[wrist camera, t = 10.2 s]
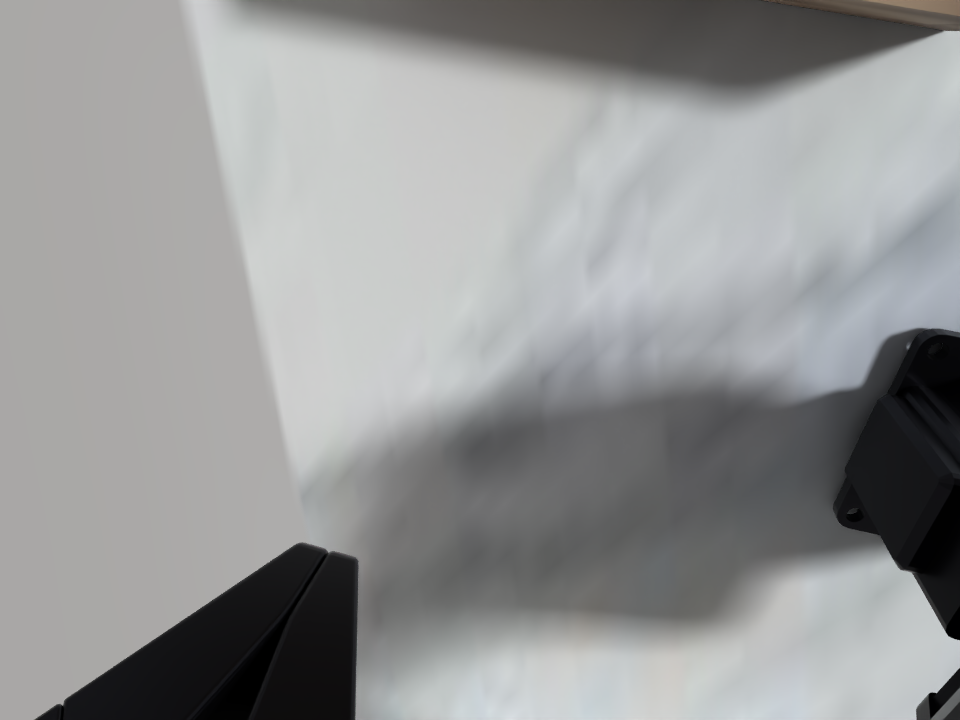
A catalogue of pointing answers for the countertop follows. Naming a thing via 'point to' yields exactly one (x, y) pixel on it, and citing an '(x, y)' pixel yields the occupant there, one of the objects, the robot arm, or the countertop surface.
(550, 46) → the countertop surface
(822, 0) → the wooden sorting tray
